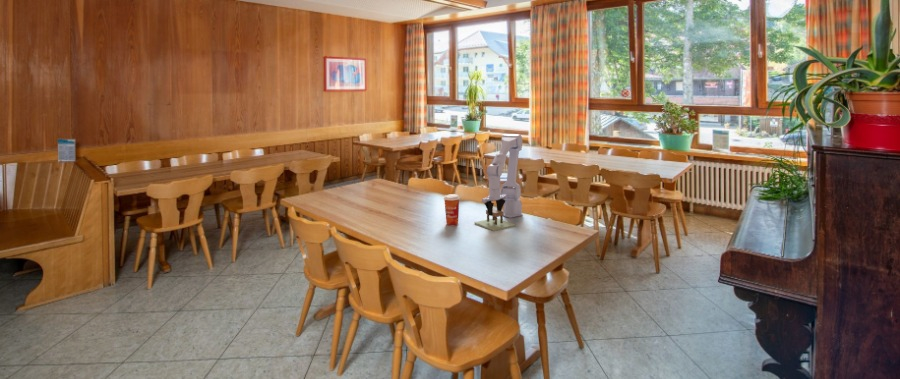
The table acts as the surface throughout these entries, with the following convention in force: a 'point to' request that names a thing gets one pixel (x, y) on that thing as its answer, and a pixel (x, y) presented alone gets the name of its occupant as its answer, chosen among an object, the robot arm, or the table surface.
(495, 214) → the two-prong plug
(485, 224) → the mat
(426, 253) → the table surface
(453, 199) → the coffee cup
